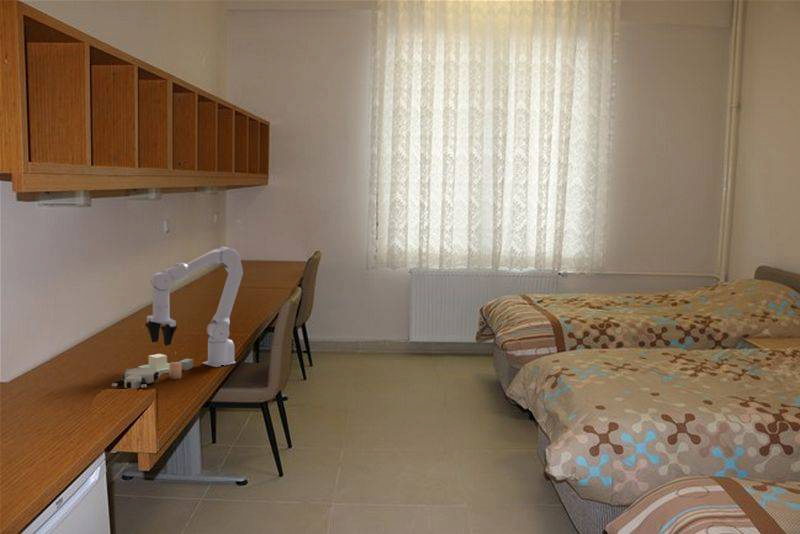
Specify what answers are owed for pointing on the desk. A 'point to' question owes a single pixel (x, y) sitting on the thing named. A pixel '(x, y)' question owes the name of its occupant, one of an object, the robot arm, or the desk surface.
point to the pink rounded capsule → (175, 370)
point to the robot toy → (137, 378)
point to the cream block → (158, 361)
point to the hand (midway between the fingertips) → (161, 343)
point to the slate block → (187, 364)
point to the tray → (157, 370)
